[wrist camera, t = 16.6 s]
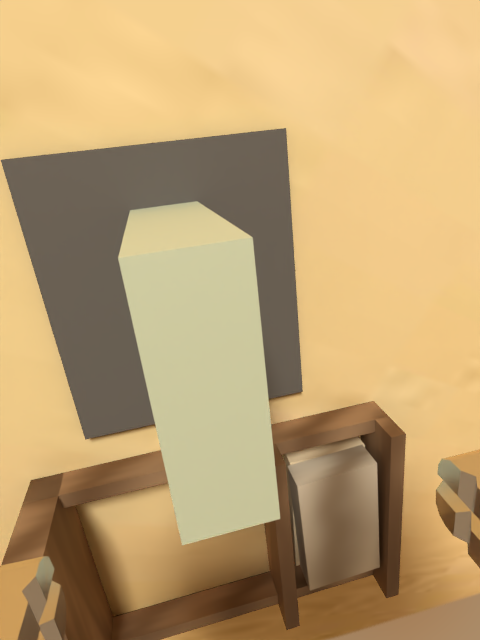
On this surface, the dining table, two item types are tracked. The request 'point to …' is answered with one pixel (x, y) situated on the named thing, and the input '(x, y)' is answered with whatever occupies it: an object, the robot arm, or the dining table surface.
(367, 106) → the dining table surface
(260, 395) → the beige rectangular block
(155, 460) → the frame
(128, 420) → the rubber mat
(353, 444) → the block
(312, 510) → the upper offcut
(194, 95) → the dining table surface
